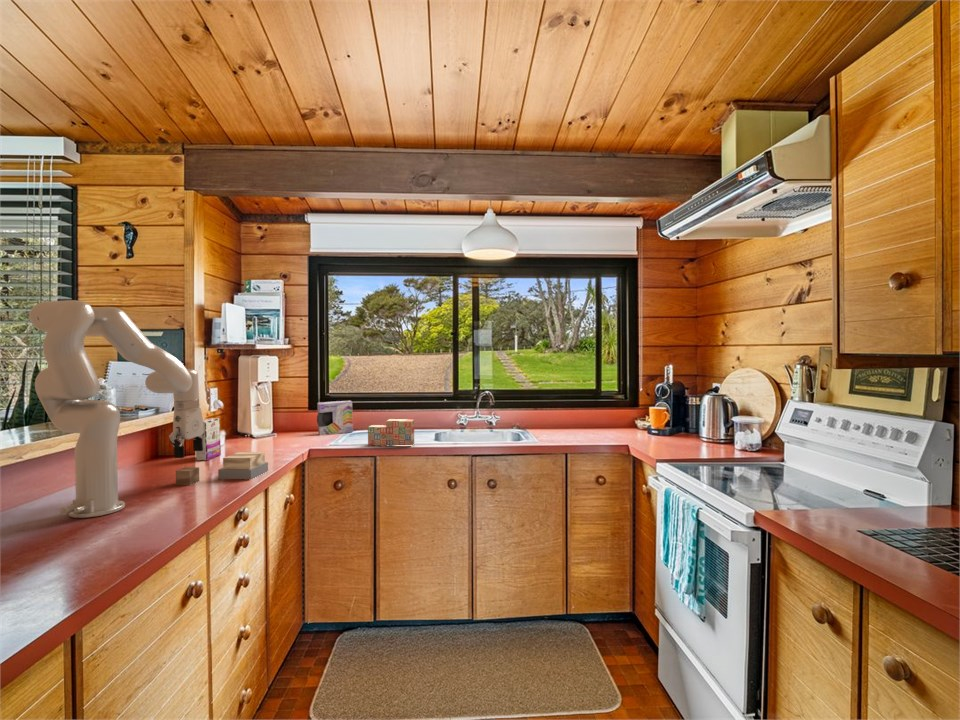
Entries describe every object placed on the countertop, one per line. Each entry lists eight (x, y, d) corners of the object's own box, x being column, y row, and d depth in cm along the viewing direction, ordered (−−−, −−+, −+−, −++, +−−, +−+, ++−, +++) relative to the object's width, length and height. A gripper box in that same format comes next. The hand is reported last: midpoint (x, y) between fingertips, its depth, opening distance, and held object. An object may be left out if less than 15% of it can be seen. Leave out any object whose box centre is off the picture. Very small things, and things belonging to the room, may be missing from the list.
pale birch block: (250, 469, 174) (250, 457, 173) (223, 469, 174) (223, 457, 174) (264, 462, 184) (264, 452, 183) (239, 462, 184) (238, 452, 184)
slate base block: (251, 481, 172) (250, 470, 172) (218, 481, 173) (218, 469, 173) (268, 472, 184) (267, 462, 184) (237, 472, 185) (237, 462, 185)
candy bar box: (209, 455, 215) (209, 418, 214) (221, 455, 215) (220, 418, 214) (194, 461, 203) (194, 421, 203) (206, 461, 203) (206, 421, 203)
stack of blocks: (367, 446, 233) (367, 420, 233) (371, 443, 239) (371, 418, 239) (411, 446, 231) (411, 420, 230) (414, 444, 237) (414, 419, 237)
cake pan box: (317, 435, 263) (317, 403, 262) (316, 434, 267) (315, 402, 267) (353, 432, 272) (353, 401, 272) (351, 431, 276) (350, 400, 276)
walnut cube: (189, 485, 166) (189, 470, 166) (175, 485, 167) (175, 470, 166) (199, 481, 171) (199, 467, 171) (185, 481, 172) (185, 467, 171)
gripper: (180, 408, 160) (182, 460, 161) (212, 401, 177) (214, 448, 178) (158, 409, 160) (160, 460, 161) (192, 401, 177) (195, 448, 178)
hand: (189, 454), depth 169 cm, fingers open, 9 cm apart
